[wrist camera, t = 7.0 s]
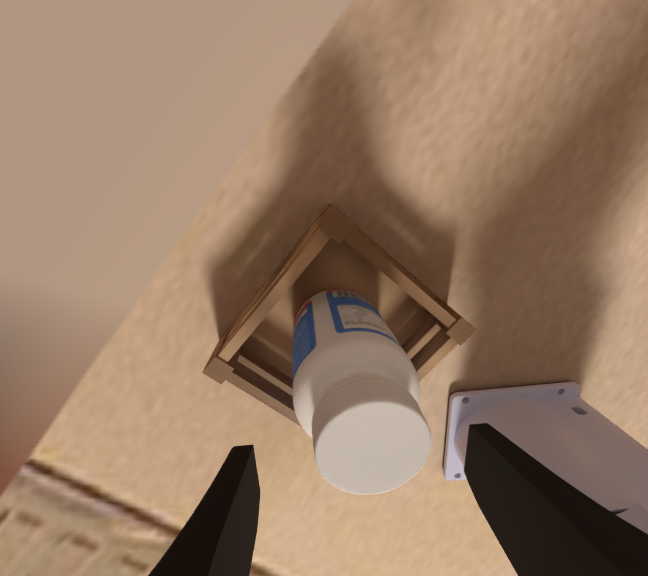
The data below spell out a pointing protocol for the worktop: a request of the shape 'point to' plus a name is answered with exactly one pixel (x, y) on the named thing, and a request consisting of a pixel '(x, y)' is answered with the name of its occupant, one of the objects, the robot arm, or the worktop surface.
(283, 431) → the worktop surface
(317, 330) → the pill bottle
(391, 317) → the crate
